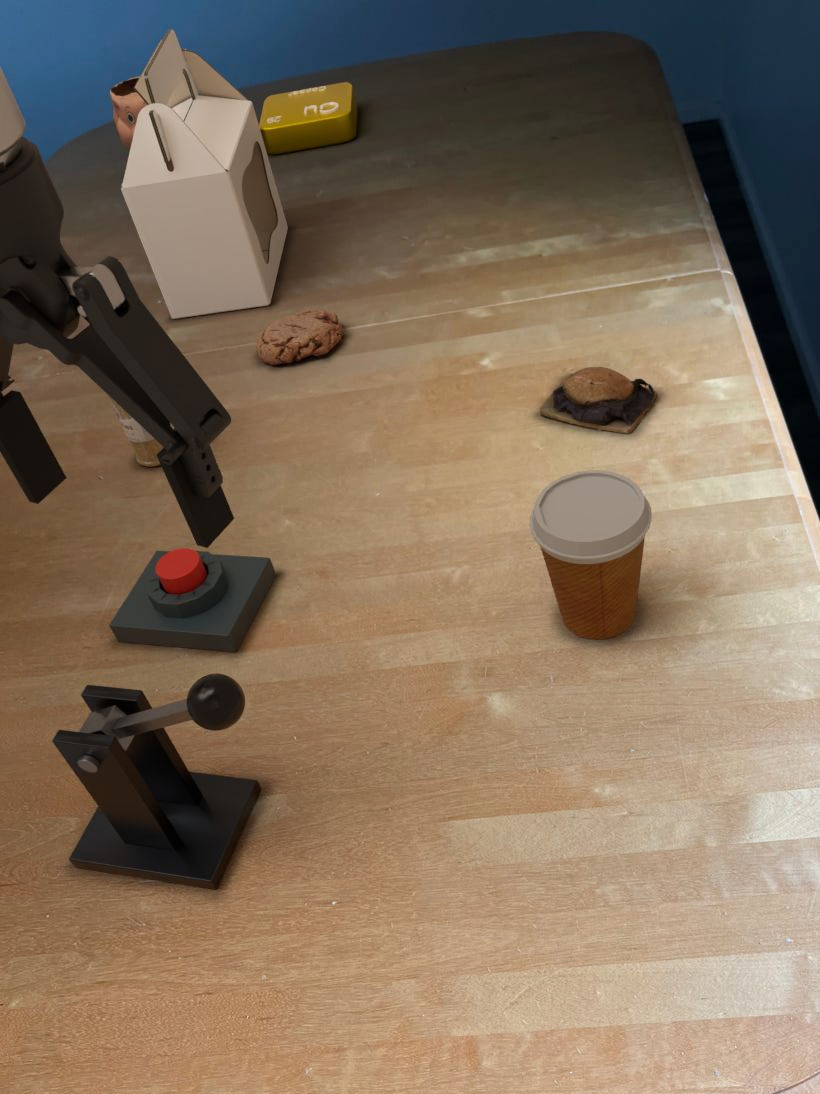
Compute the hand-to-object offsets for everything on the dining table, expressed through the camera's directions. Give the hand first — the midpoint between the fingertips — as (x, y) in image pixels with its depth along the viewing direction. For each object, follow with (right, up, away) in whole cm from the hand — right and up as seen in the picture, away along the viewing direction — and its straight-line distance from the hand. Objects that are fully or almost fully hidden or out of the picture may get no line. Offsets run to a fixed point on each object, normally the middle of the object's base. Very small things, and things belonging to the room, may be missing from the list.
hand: (128, 510), depth 64 cm
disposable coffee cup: (+32, -6, +26) cm, 41 cm away
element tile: (-6, +76, +110) cm, 134 cm away
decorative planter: (-28, +68, +107) cm, 130 cm away
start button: (-5, -2, +31) cm, 32 cm away
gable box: (-12, +42, +80) cm, 91 cm away
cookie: (0, +28, +64) cm, 69 cm away
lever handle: (+1, -14, +6) cm, 15 cm away
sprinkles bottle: (-14, +12, +52) cm, 55 cm away
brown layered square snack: (+34, +17, +47) cm, 60 cm away
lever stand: (-2, -22, +17) cm, 28 cm away
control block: (-5, -5, +34) cm, 34 cm away
